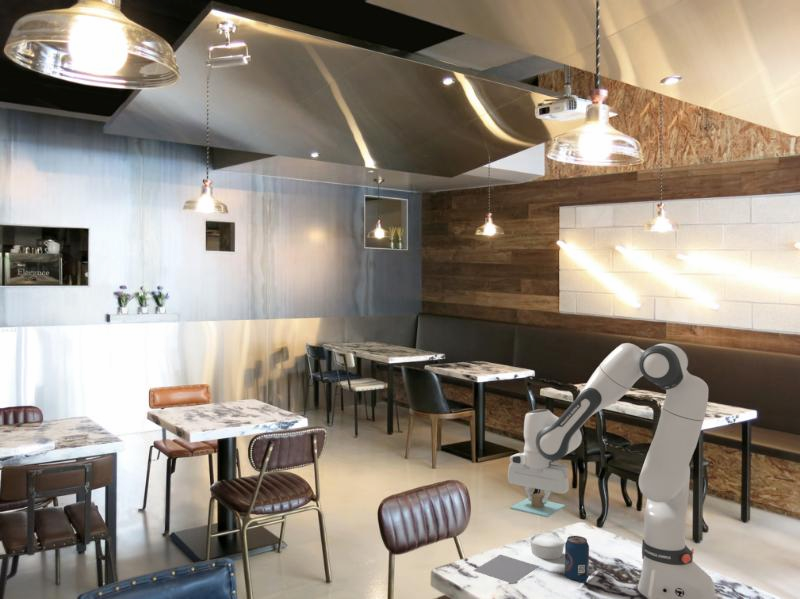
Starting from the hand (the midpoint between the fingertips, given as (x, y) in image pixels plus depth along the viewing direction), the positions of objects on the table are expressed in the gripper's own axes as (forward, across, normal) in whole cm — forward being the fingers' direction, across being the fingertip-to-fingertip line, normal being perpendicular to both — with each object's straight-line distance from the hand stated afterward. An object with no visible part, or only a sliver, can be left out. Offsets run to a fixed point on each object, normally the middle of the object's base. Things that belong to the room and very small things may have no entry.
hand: (537, 501), depth 208 cm
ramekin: (+19, -1, -5) cm, 20 cm away
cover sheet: (+2, 0, 0) cm, 2 cm away
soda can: (+19, -15, +5) cm, 25 cm away
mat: (+19, +4, +14) cm, 24 cm away
